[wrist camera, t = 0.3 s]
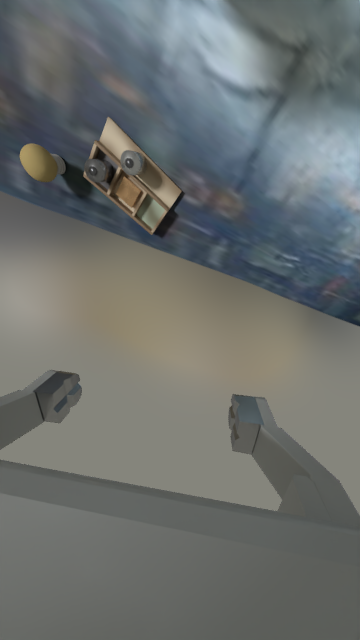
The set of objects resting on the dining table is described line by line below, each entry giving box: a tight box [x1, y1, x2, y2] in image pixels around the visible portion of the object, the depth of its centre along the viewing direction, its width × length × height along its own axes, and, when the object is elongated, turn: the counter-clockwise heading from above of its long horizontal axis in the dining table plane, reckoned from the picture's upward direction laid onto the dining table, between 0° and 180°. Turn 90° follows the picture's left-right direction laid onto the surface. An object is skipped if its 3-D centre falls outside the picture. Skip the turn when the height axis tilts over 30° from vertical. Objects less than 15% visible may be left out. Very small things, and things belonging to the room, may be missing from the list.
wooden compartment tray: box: [83, 117, 182, 235], centre depth 45 cm, size 13×20×3 cm, turn 51°
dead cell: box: [85, 159, 114, 183], centre depth 42 cm, size 4×4×7 cm
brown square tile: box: [116, 176, 141, 208], centre depth 46 cm, size 5×5×1 cm
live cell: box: [120, 150, 147, 176], centre depth 40 cm, size 4×4×7 cm
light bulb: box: [20, 144, 66, 182], centre depth 42 cm, size 6×6×10 cm
